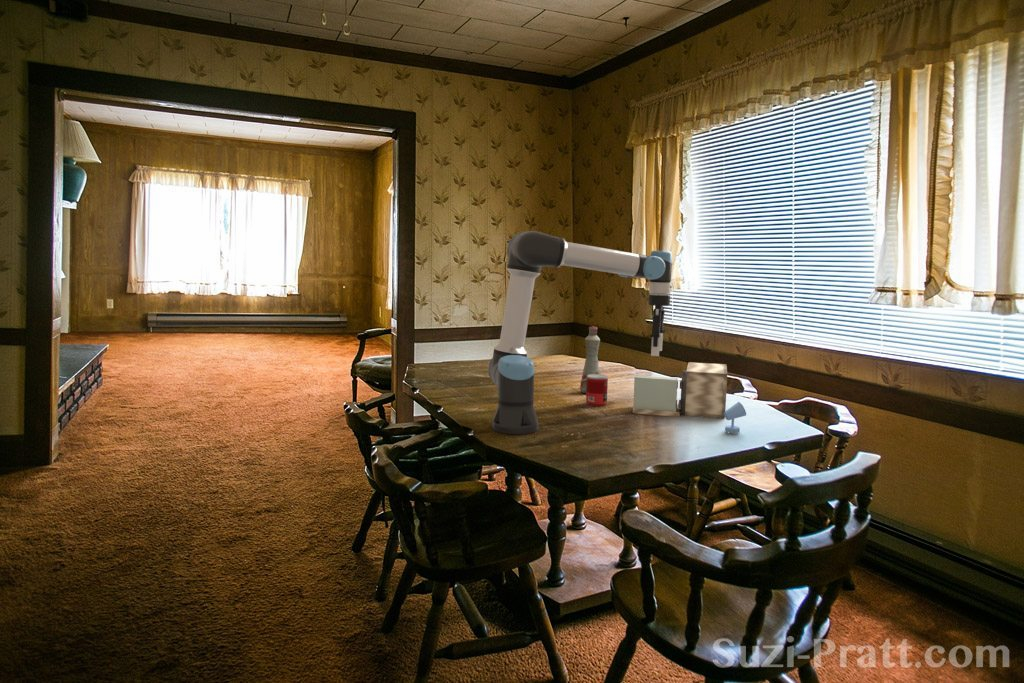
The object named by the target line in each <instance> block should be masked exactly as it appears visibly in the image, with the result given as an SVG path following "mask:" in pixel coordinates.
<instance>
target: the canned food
mask: <svg viewBox="0 0 1024 683" xmlns="http://www.w3.org/2000/svg"><path fill="white" fill-rule="evenodd" d="M608 382H609V381H608V375H605V374H590V375H587V386H586V394H585V396H586V397H585V399H586V400H585V403H586V405H588V406H591V405H592V406H591V407H604V406H606V405H607V403H608V386H609V385H608Z"/></svg>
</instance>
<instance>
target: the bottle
mask: <svg viewBox="0 0 1024 683" xmlns="http://www.w3.org/2000/svg"><path fill="white" fill-rule="evenodd" d="M597 334H598V327H597V326H594V325H592V326H589V327H588V336H586V337H585V338H584V342H585V350H586V356H585V361H584V366H583V372H582V376H581V380H580V384H579V385H580V386H579V391H580V393H583V394H585V395H586V386H587V375H590V374H600V367H599V360H598V353H599V349H600V348H599V347H600V343H601V339H600V337H599V336H598V335H597Z"/></svg>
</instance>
